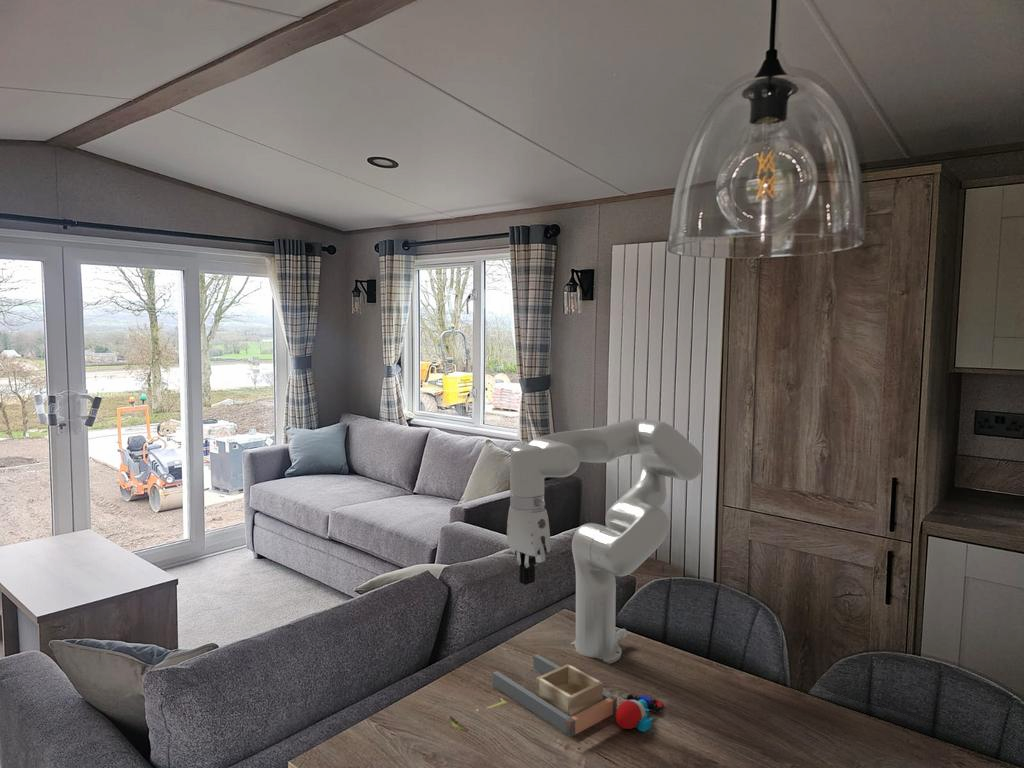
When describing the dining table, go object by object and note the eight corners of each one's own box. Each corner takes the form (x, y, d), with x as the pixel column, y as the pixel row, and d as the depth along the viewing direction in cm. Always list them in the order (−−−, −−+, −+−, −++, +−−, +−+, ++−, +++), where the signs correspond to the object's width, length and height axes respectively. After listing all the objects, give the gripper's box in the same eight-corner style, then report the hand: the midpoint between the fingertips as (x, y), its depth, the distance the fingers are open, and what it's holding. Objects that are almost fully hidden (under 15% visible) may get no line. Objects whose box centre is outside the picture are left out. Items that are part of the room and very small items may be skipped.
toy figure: (632, 703, 145) (602, 725, 132) (635, 680, 145) (606, 700, 132) (665, 717, 140) (638, 742, 128) (669, 694, 140) (642, 716, 128)
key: (510, 711, 139) (510, 701, 139) (464, 736, 131) (463, 725, 131) (487, 697, 145) (486, 687, 144) (441, 720, 136) (441, 710, 136)
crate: (536, 705, 138) (536, 677, 138) (567, 690, 144) (568, 663, 143) (570, 728, 130) (571, 698, 130) (602, 711, 136) (602, 682, 136)
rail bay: (492, 691, 146) (492, 672, 146) (537, 671, 154) (537, 653, 154) (570, 743, 128) (570, 722, 127) (616, 718, 136) (616, 698, 136)
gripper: (563, 505, 145) (562, 588, 147) (518, 492, 157) (518, 569, 158) (537, 511, 140) (537, 597, 142) (492, 497, 152) (493, 577, 153)
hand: (527, 582), depth 150 cm, fingers closed
